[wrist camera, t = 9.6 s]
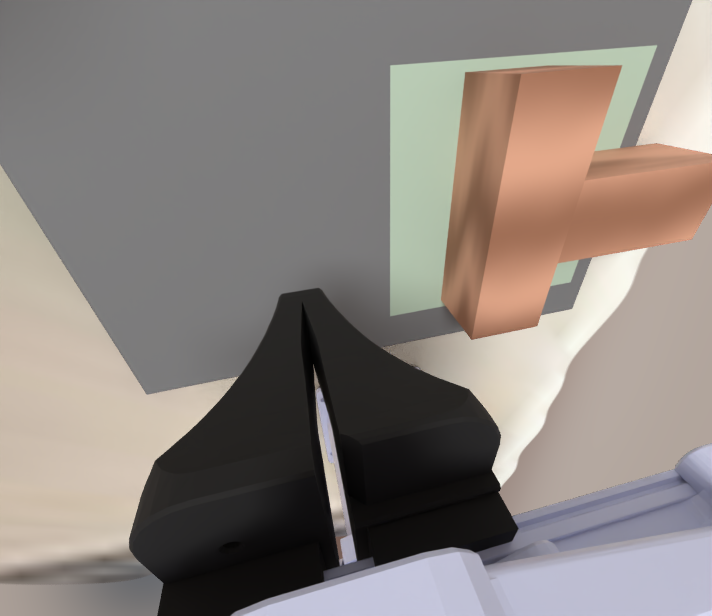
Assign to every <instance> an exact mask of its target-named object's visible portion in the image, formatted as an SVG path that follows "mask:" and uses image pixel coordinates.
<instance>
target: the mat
mask: <svg viewBox="0 0 712 616" xmlns="http://www.w3.org/2000/svg"><path fill="white" fill-rule="evenodd" d="M691 2H692V0H0V165H1V166H2V168H3V169H4V171H5V172H6V174H7V176H8V177H9V179H10V180H11V182H12V183H13V185H14V187H15V188H16V190H17V191H18V193H19V194H20V196H21V198H22V199H23V201H24V202H25V204H26V205H27V207H28V209H29V210H30V212H31V213H32V215H33V216H34V218H35V220H36V221H37V223H38V224H39V226H40V227H41V229H42V231H43V232H44V234H45V235H46V237H47V238H48V240H49V242H50V243H51V245H52V246H53V248H54V249H55V251H56V253H57V254H58V256H59V257H60V259H61V260H62V262H63V264H64V265H65V267H66V268H67V270H68V271H69V273H70V275H71V276H72V278H73V279H74V281H75V282H76V284H77V286H78V287H79V289H80V290H81V292H82V293H83V295H84V297H85V298H86V300H87V301H88V303H89V304H90V306H91V308H92V309H93V311H94V312H95V314H96V315H97V317H98V319H99V320H100V322H101V323H102V325H103V326H104V328H105V330H106V331H107V333H108V334H109V336H110V338H111V339H112V341H113V342H114V344H115V345H116V347H117V349H118V350H119V352H120V353H121V355H122V356H123V358H124V360H125V361H126V363H127V364H128V366H129V367H130V369H131V371H132V372H133V374H134V375H135V377H136V378H137V380H138V382H139V383H140V385H141V386H142V388H143V389H144V391H145V393H146V394H152V393H157V392H162V391H167V390H172V389H177V388H182V387H187V386H192V385H197V384H202V383H207V382H212V381H217V380H222V379H227V378H232V377H237V376H240V375H241V373H242V372H243V370H244V369H245V367H246V366H247V364H248V363H249V361H250V360H251V358H252V357H253V355H254V353H255V352H256V350H257V348H258V346H259V344H260V342H261V341H262V339H263V337H264V335H265V333H266V331H267V329H268V326H269V324H270V322H271V320H272V317H273V315H274V312H275V309H276V306H277V303H278V299H279V296H280V295H281V294H283V293H289V292H295V291H301V290H307V289H313V288H320V289H321V290H323V292H324V294H325V295H326V297H327V298H328V299H329V301H330V302H331V303H332V304H333V305H334V307H335V308H336V309H337V310H338V311H339V312H340V313H341V314H342V315H343V316H344V317H345V318H346V319H347V320H348V321H349V322H350V323H351V324H352V325H353V326H354V327H355V328H356V329H357V330H359V331H360V332H361V333H362V334H363V335H364V336H366V337H367V338H368V339H369V340H371V341H372V342H373V343H375V344H376V345H378V346H379V347H385V346H390V345H395V344H400V343H405V342H410V341H415V340H420V339H425V338H430V337H435V336H440V335H445V334H450V333H455V332H460V331H465V330H464V329H463V328H462V327H461V325H460V324H459V323H458V321H457V320H456V319H455V318H454V316H453V315H452V314H451V312H450V311H449V310H448V308H447V307H446V306H445V305H444V303H443V302H442V301H441V294H442V284H443V275H444V266H445V256H446V247H447V238H448V228H449V219H450V209H451V200H452V191H453V181H454V172H455V163H456V153H457V144H458V135H459V125H460V116H461V107H462V97H463V88H464V79H465V72H474V71H486V70H498V69H510V68H523V67H535V66H547V65H622V68H621V72H620V75H619V78H618V81H617V84H616V87H615V90H614V93H613V96H612V99H611V102H610V105H609V108H608V111H607V114H606V117H605V120H604V123H603V127H602V130H601V133H600V136H599V139H598V142H597V145H596V148H595V151H601V150H608V149H616V148H624V147H632V146H636V143H637V141H638V138H639V136H640V133H641V130H642V128H643V125H644V123H645V120H646V118H647V115H648V113H649V110H650V107H651V105H652V102H653V100H654V97H655V95H656V92H657V89H658V87H659V84H660V82H661V79H662V77H663V74H664V72H665V69H666V66H667V64H668V61H669V59H670V56H671V54H672V51H673V48H674V46H675V43H676V41H677V38H678V36H679V33H680V30H681V28H682V25H683V23H684V20H685V18H686V15H687V13H688V10H689V7H690V5H691ZM591 259H592V257H591V258H585V259H580V260H574V261H569V262H563V263H558V264H557V267H556V270H555V273H554V276H553V279H552V282H551V285H550V288H549V292H548V295H547V298H546V301H545V304H544V307H543V310H542V313H541V315H544V314H549V313H554V312H559V311H564V310H569V309H572V307H573V305H574V302H575V300H576V297H577V295H578V292H579V289H580V287H581V284H582V282H583V279H584V277H585V274H586V272H587V269H588V266H589V264H590V261H591Z"/></svg>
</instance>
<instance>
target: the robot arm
mask: <svg viewBox="0 0 712 616" xmlns="http://www.w3.org/2000/svg"><path fill="white" fill-rule="evenodd" d="M313 364H314V368H315V371H316V375H317V378H318V382H319V385H320V388H318V389H317V390H316V398H317V403H318V409H319V414H320V419H321V424H322V429H323V434H324V440H325V445H326V450H327V455H328V460H329V462H330V463H334V465H335V471H336V476H337V482H338V487H339V492H340V498H341V503H342V509H343V514H344V519H345V525H346V530H347V535H348V536H347V537H345V538H342V539H341V540H340V542H341V548H342V554H343V559H341V560H339V556H338V550H337V544H336V538H335V532H334V526H333V520H332V514H331V508H330V502H329V496H328V490H327V484H326V478H325V472H324V465H323V459H322V453H321V447H320V441H319V435H318V426H317V414H316V398H315V383H314V368H313ZM500 438H501V434H500V432H499V429H498V427H497V425H496V424H495V422H494V421H493V419H492V417H491V416H490V414H489V413H488V412H487V410H486V409H485V408H484V407H483V405H482V404H481V403H480V402H479V401H478V399H477V398H476V397H475V396H474V395H473V394H472V392H471V391H470V390H469V389H467V388H464V387H461V386H459V385H456V384H453V383H450V382H448V381H445V380H442V379H439V378H437V377H434V376H432V375H430V374H428V373H425V372H423V371H421V370H420V368H418V367H413V366H411V365H409V364H407V363H405V362H403V361H402V360H400V359H398V358H396V357H394V356H393V355H391V354H389V353H388V352H386V351H385V350H383V349H382V348H380V347H379V346H378V345H376V344H375V343H373V342H372V341H371V340H369V339H368V338H367V337H366V336H364V335H363V334H362V333H361V332H360V331H359V330H357V329H356V328H355V327H354V326H353V325H352V324H351V323H350V322H349V321H348V320H347V319H346V318H345V317H344V316H343V315H342V314H341V313H340V312H339V311H338V310H337V309H336V308H335V307H334V305H333V304H332V303H331V302H330V301H329V299H328V298H327V297H326V295H325V294H324V292H323V290H321V289H320V288H313V289H307V290H301V291H295V292H289V293H283V294H281V295H280V296H279V299H278V303H277V306H276V309H275V312H274V315H273V317H272V320H271V322H270V324H269V326H268V329H267V331H266V333H265V335H264V337H263V339H262V341H261V342H260V344H259V346H258V348H257V350H256V352H255V353H254V355H253V357H252V358H251V360H250V361H249V363H248V364H247V366H246V367H245V369H244V370H243V372H242V373H241V375H240V376H239V377H238V379H237V380H236V381H235V382H234V384H233V385H232V386H231V388H230V389H229V390H228V391H227V393H226V394H225V395H224V396H223V397H222V398H221V400H220V401H219V402H218V403H217V404H216V405H215V406H214V407H213V408H212V409H211V410H210V411H209V412H208V413H207V415H206V416H205V417H204V418H203V419H202V420H201V421H200V422H199V423H198V424H197V425H196V426H194V427H193V428H192V429H191V430H190V431H189V432H188V433H187V434H186V435H185V436H183V437H182V438H181V439H180V440H179V441H178V442H176V443H175V444H174V445H173V446H172V447H171V448H170V449H168V450H167V451H166V452H165V453H164V454H163V455H161V456H160V457H159V458H158V459H157V460H155V462H154V465H153V467H152V470H151V472H150V475H149V477H148V479H147V482H146V484H145V487H144V490H143V492H142V495H141V498H140V502H139V506H138V509H137V513H136V516H135V520H134V523H133V527H132V530H131V534H130V538H129V549H130V550H131V552H132V553H133V555H134V556H135V558H136V559H137V560H138V561H139V562H140V563H141V564H143V565H144V566H145V567H146V568H147V569H148V570H149V571H151V572H152V573H153V574H154V575H155V576H156V577H157V578H158V579H160V580H161V581H162V582H163V583H164V584H163V589H162V594H161V600H160V605H159V610H158V615H157V616H712V443H710V444H706V445H703V446H700V447H697V448H695V449H693V450H691V451H690V452H688V453H686V454H685V455H684V456H683V457H682V458H681V459H680V460H679V461H678V463H677V464H676V465H675V469H672V470H669V471H665V472H662V473H659V474H655V475H652V476H648V477H645V478H641V479H638V480H635V481H631V482H628V483H624V484H621V485H617V486H614V487H610V488H607V489H604V490H600V491H597V492H593V493H590V494H586V495H583V496H579V497H576V498H573V499H570V500H566V501H563V502H559V503H556V504H552V505H549V506H545V507H542V508H539V509H535V510H531V511H528V512H525V513H521V514H518V515H514V516H511V514H510V512H509V510H508V509H507V507H506V505H505V503H504V501H503V500H502V498H501V496H500V494H499V491H500V489H501V487H500V483H499V482H498V480H497V478H496V476H495V475H494V473H493V471H492V466H493V463H494V460H495V457H496V454H497V451H498V448H499V445H500Z"/></svg>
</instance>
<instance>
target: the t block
mask: <svg viewBox="0 0 712 616" xmlns="http://www.w3.org/2000/svg"><path fill="white" fill-rule="evenodd" d="M621 68H622V65H547V66H535V67H523V68H510V69H498V70H486V71H474V72H465V79H464V88H463V97H462V107H461V116H460V125H459V135H458V144H457V153H456V163H455V172H454V181H453V191H452V200H451V209H450V219H449V228H448V238H447V247H446V256H445V266H444V275H443V284H442V294H441V301H442V302H443V303H444V305H445V306H446V307H447V308H448V310H449V311H450V312H451V314H452V315H453V316H454V318H455V319H456V320H457V321H458V323H459V324H460V325H461V327H462V328H463V329H464V330H465V332H466V333H467V334H468V336H469V337H470V338H471V340H473V339H477V338H482V337H487V336H492V335H497V334H502V333H506V332H511V331H516V330H521V329H526V328H531V327H535V326H537V325H538V322H539V319H540V316H541V313H542V310H543V307H544V304H545V301H546V298H547V295H548V292H549V288H550V285H551V282H552V279H553V276H554V273H555V270H556V267H557V264H558V263H563V262H569V261H574V260H580V259H585V258H591V257H597V256H602V255H608V254H613V253H619V252H625V251H630V250H636V249H641V248H647V247H653V246H658V245H663V244H669V243H675V242H680V241H686V240H691V239H692V238H693V236H694V235H695V233H696V231H697V229H698V227H699V226H700V224H701V222H702V220H703V219H704V217H705V215H706V213H707V211H708V210H709V208H710V206H711V204H712V154H708V153H703V152H698V151H693V150H688V149H683V148H678V147H673V146H667V145H662V144H657V143H656V144H648V145H640V146H632V147H624V148H616V149H608V150H601V151H595V148H596V145H597V142H598V139H599V136H600V133H601V130H602V127H603V123H604V120H605V117H606V114H607V111H608V108H609V105H610V102H611V99H612V96H613V93H614V90H615V87H616V84H617V81H618V78H619V75H620V72H621Z"/></svg>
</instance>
